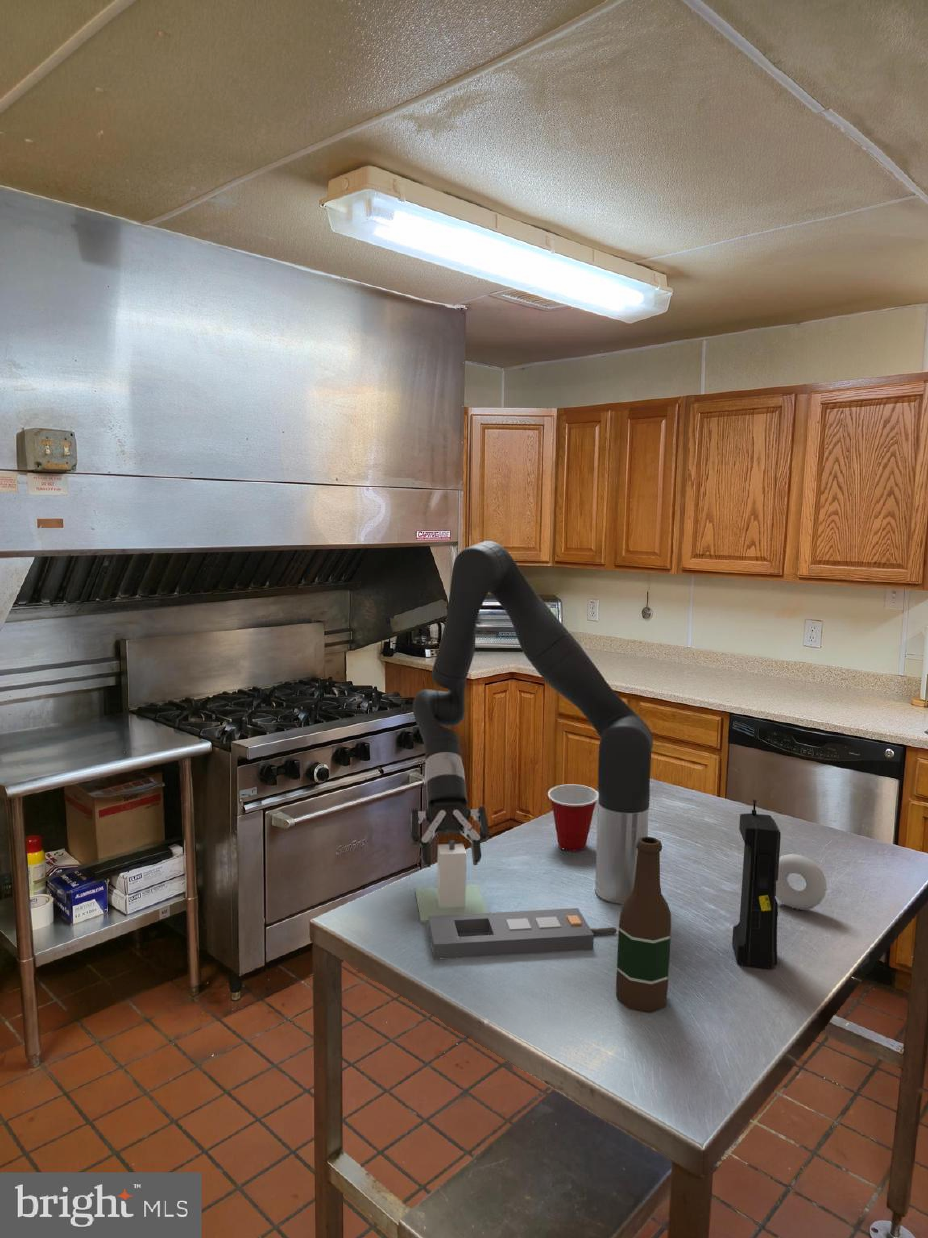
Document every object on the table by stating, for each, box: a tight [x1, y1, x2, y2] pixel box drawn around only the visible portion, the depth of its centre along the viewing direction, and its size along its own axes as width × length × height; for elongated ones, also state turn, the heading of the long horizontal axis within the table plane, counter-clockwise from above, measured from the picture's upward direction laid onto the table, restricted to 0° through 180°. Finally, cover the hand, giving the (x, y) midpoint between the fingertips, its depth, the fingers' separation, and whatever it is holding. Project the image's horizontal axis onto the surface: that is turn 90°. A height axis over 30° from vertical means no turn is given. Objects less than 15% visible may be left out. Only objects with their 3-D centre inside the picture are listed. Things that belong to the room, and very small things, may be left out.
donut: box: [775, 853, 828, 911], centre depth 143 cm, size 10×4×10 cm, turn 54°
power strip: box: [427, 907, 618, 960], centre depth 131 cm, size 32×9×3 cm, turn 98°
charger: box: [436, 839, 467, 908], centre depth 141 cm, size 5×4×12 cm
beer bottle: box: [615, 836, 672, 1013], centre depth 114 cm, size 8×8×24 cm
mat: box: [414, 885, 489, 924], centre depth 142 cm, size 12×12×1 cm
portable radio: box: [731, 799, 782, 970], centre depth 125 cm, size 8×6×25 cm
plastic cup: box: [547, 783, 599, 852], centre depth 168 cm, size 11×11×12 cm
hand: (452, 864), depth 140 cm, fingers open, 8 cm apart
